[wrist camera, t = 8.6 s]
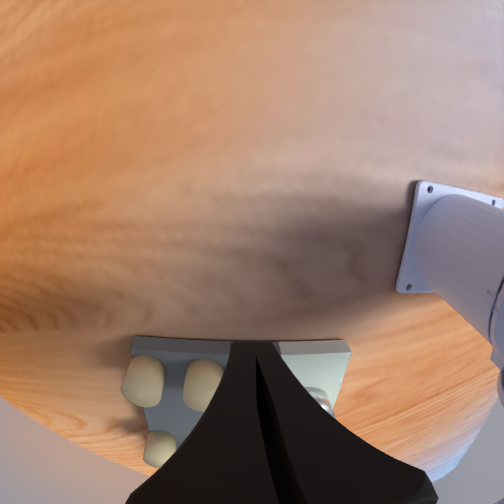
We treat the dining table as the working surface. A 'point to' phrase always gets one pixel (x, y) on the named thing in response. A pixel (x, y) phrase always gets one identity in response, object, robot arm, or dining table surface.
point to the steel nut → (321, 398)
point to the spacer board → (175, 380)
